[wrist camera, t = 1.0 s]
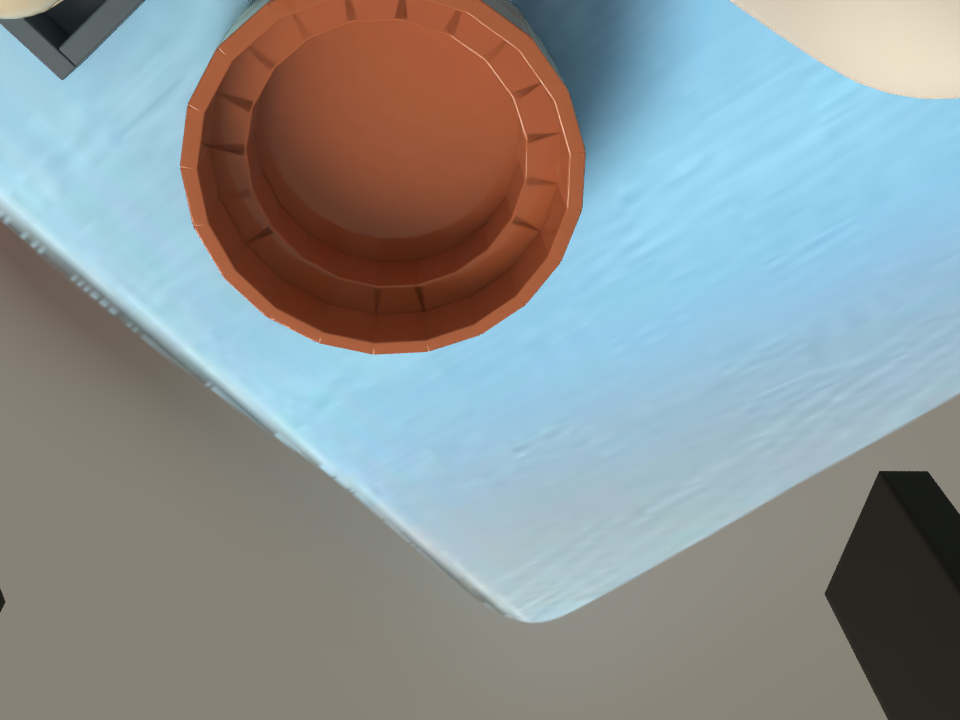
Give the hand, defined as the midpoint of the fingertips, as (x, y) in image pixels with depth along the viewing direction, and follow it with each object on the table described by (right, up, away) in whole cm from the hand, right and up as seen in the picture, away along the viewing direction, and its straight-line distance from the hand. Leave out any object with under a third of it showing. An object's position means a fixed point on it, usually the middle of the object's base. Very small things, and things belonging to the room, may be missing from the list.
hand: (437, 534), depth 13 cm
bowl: (-3, +12, +22) cm, 25 cm away
